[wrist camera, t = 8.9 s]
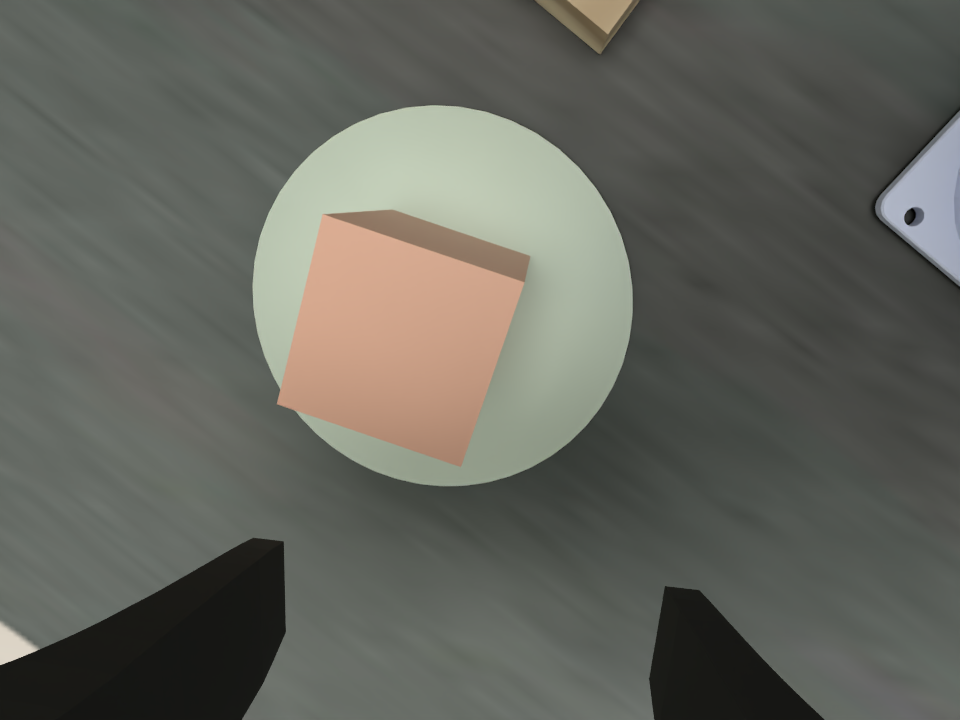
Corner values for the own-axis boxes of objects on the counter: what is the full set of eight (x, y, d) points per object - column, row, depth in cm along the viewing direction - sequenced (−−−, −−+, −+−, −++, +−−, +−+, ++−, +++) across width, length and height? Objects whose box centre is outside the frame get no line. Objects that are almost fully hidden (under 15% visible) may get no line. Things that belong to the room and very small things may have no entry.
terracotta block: (530, 256, 18) (524, 282, 12) (485, 387, 19) (460, 467, 14) (392, 209, 18) (322, 214, 12) (356, 343, 19) (277, 404, 14)
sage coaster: (712, 275, 18) (718, 277, 18) (476, 541, 22) (474, 550, 21) (395, 19, 17) (390, 13, 17) (197, 337, 21) (187, 340, 20)
